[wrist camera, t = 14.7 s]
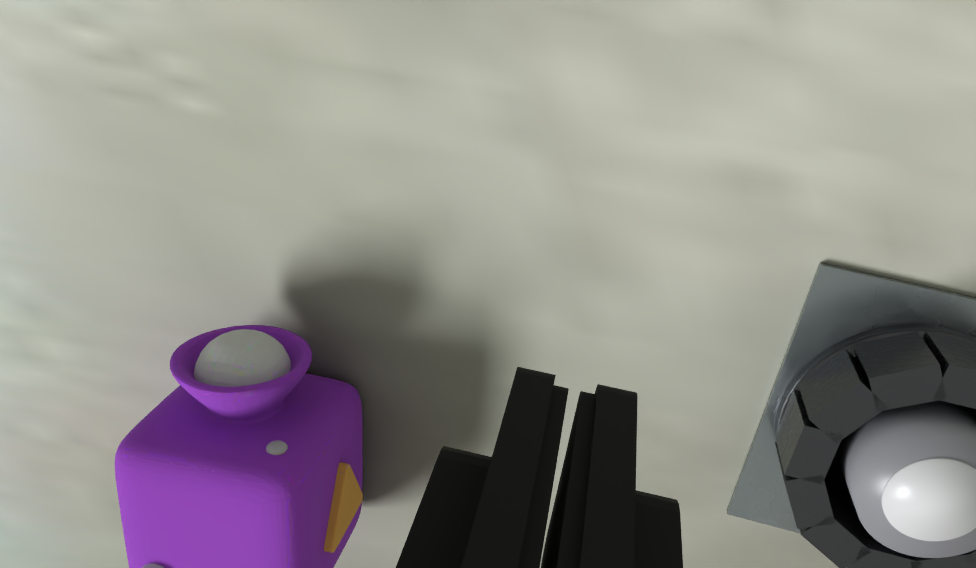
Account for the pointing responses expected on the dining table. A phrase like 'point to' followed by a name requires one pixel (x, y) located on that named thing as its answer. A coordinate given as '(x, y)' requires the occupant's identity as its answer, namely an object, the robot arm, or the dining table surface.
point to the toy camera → (243, 459)
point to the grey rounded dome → (915, 478)
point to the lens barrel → (852, 404)
